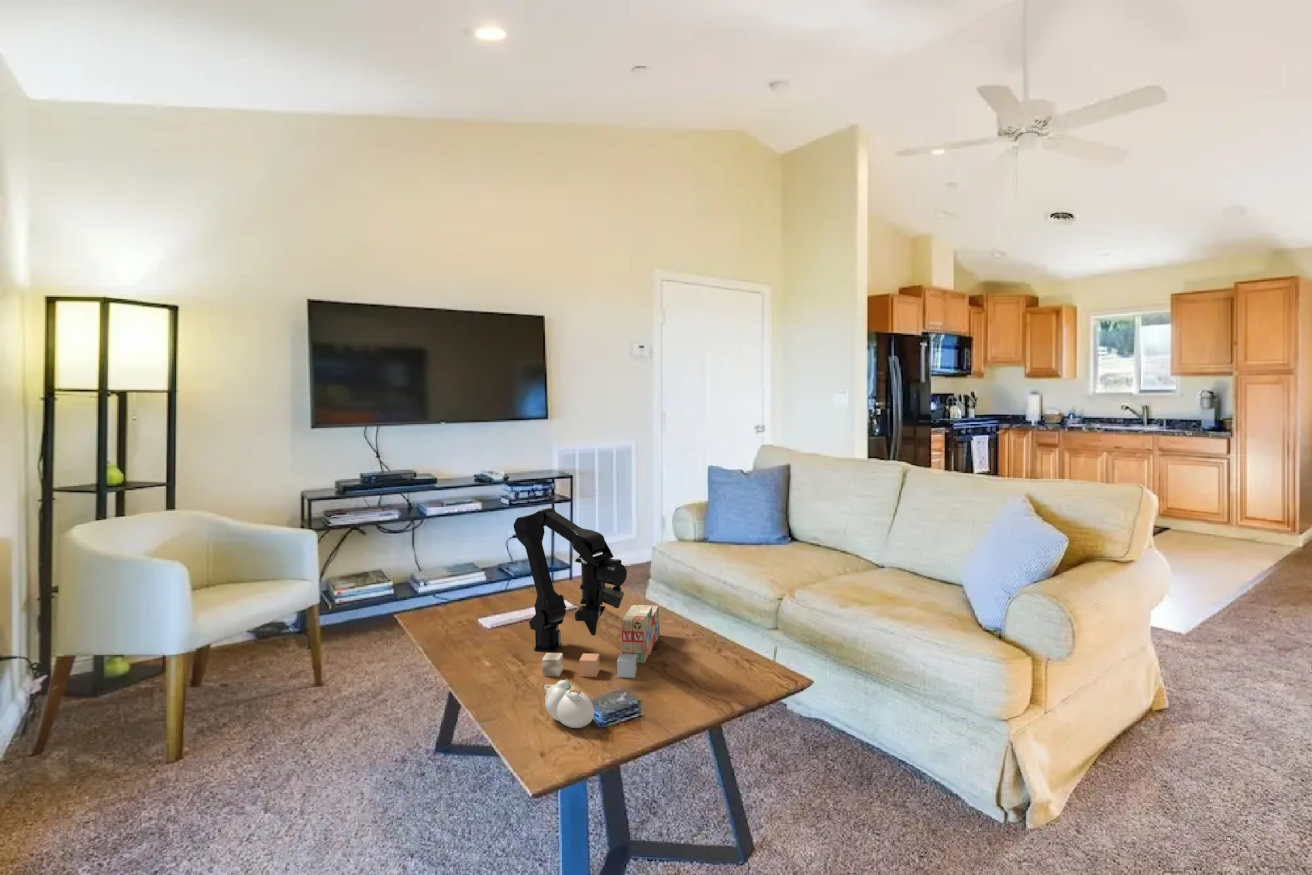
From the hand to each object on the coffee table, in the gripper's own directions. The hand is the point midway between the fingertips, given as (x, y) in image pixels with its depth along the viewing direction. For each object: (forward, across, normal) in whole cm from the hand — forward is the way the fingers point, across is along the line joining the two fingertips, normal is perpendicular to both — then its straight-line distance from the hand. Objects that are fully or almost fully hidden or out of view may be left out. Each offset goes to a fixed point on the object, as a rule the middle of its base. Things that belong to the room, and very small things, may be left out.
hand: (593, 634), depth 183 cm
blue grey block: (+8, -7, -10) cm, 15 cm away
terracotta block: (+8, -7, 0) cm, 11 cm away
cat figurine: (+8, -32, 0) cm, 33 cm away
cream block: (+8, -7, +10) cm, 14 cm away
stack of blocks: (+8, +10, -12) cm, 18 cm away
